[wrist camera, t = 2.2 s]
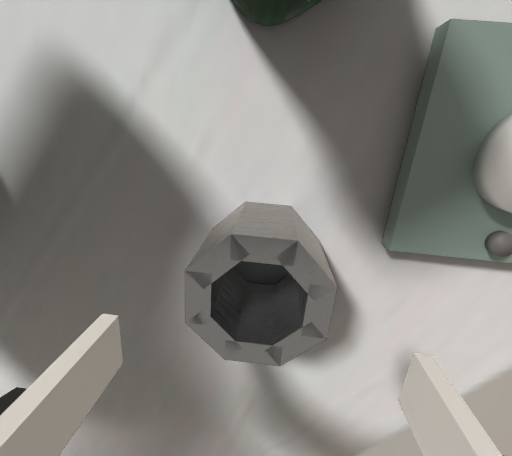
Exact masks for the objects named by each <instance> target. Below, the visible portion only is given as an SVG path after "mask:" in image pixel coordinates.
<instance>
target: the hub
mask: <svg viewBox="0 0 512 456" xmlns="http://www.w3.org/2000/svg"><path fill="white" fill-rule="evenodd" d="M240 261H246V262H256V263H265V264H275V265H283V266H284V267H285V269H286V270H287V271H288V272H289V273H290V274H288V275H287V276H286V277H284V278H283V279H281V280H280V281H278V282H277V283H275V284H274V285H272V284H262V283H253V282H247V281H246V280H245V279H244V278H243V277H242V276H241V275H240V274H239V273H238V271H237V270H236V269H235V268H234V266H235V265H236V264H238V263H239V262H240ZM336 292H337V285H336V282H335V280H334V277H333V275H332V272H331V270H330V267H329V264H328V262H327V259H326V257H325V254H324V252H323V249H322V247H321V244H320V241H319V239H318V238H317V237H316V236H315V234H314V233H313V232H312V231H311V230H310V228H309V227H308V226H307V225H306V224H305V222H304V221H303V220H302V219H301V217H300V216H299V215H298V214H297V213H296V211H295V210H294V209H293V208H292V207H291V206H284V205H273V204H263V203H253V202H245V203H243V204H242V205H241V206H240V207H239V208H237V209H236V210H235V211H234V212H233V213H231V214H230V215H229V216H228V217H227V218H225V219H224V220H223V221H222V222H220V223H219V224H218V225H217V226H216V227H214V228H213V229H212V231H211V232H210V234H209V235H208V237H207V238H206V240H205V241H204V243H203V244H202V246H201V247H200V249H199V250H198V252H197V253H196V255H195V256H194V258H193V259H192V261H191V262H190V264H189V265H188V267H187V268H186V270H185V323H186V324H187V325H188V326H190V327H191V328H192V329H193V330H194V331H195V332H196V333H197V334H198V335H199V336H200V337H201V338H202V339H203V340H204V341H205V342H206V343H207V344H209V345H210V346H211V347H212V348H213V349H214V350H215V351H216V352H217V353H218V354H219V355H220V356H221V357H222V358H223V359H224V360H233V361H241V362H249V363H258V364H266V365H274V366H281V365H283V364H285V363H286V362H288V361H290V360H292V359H293V358H295V357H297V356H298V355H300V354H302V353H303V352H305V351H307V350H309V349H310V348H312V347H314V346H315V345H317V344H319V343H320V342H322V341H324V340H326V339H327V335H328V330H329V325H330V321H331V316H332V311H333V306H334V301H335V296H336Z"/></svg>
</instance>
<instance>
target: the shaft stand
mask: <svg viewBox="0 0 512 456" xmlns="http://www.w3.org/2000/svg"><path fill="white" fill-rule="evenodd" d="M382 244H383V245H384V246H385V247H386V248H387V249H388V250H389V251H397V252H407V253H417V254H427V255H437V256H446V257H456V258H466V259H476V260H486V261H496V262H505V263H512V23H506V22H491V21H476V20H462V19H450V20H448V21H447V22H445V23H444V24H442V25H441V26H439V27H438V28H436V30H435V34H434V38H433V42H432V46H431V50H430V54H429V58H428V62H427V66H426V70H425V74H424V78H423V82H422V86H421V90H420V94H419V97H418V101H417V105H416V109H415V113H414V117H413V121H412V125H411V129H410V133H409V137H408V141H407V145H406V149H405V153H404V157H403V161H402V165H401V168H400V172H399V176H398V180H397V184H396V188H395V192H394V196H393V200H392V204H391V208H390V212H389V216H388V220H387V224H386V228H385V232H384V236H383V240H382Z"/></svg>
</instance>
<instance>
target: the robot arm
mask: <svg viewBox="0 0 512 456" xmlns="http://www.w3.org/2000/svg"><path fill="white" fill-rule="evenodd" d="M122 364H123V355H122V345H121V335H120V324H119V316H118V315H110V314H101V315H100V316H99V317H98V318H97V319H96V320H95V321H94V322H93V323H92V324H91V325H90V326H89V327H88V328H87V329H86V330H85V331H84V332H83V333H82V334H81V335H80V336H79V337H78V338H77V339H76V340H75V341H74V342H73V343H72V344H71V345H70V346H69V347H68V348H67V349H66V350H65V351H64V352H63V353H62V354H61V355H60V356H59V357H58V358H57V359H56V360H55V361H54V362H53V363H52V364H51V365H50V366H49V367H48V368H47V369H46V370H45V371H44V372H43V373H42V374H41V375H40V376H39V377H38V378H37V379H36V380H35V381H34V382H33V383H32V384H31V385H30V386H29V387H28V388H27V389H25V388H18V387H16V388H15V389H13V390H12V391H10V392H8V393H7V394H5V395H4V396H2V397H1V398H0V456H59V455H60V454H61V452H62V451H63V449H64V448H65V446H66V445H67V444H68V442H69V441H70V439H71V438H72V436H73V435H74V433H75V432H76V431H77V429H78V428H79V426H80V425H81V423H82V422H83V420H84V419H85V418H86V416H87V415H88V413H89V412H90V410H91V409H92V407H93V406H94V405H95V403H96V402H97V400H98V399H99V397H100V396H101V394H102V393H103V391H104V390H105V389H106V387H107V386H108V384H109V383H110V381H111V380H112V378H113V377H114V376H115V374H116V373H117V371H118V370H119V368H120V367H121V365H122ZM398 401H399V404H400V406H401V408H402V410H403V413H404V415H405V417H406V419H407V422H408V424H409V426H410V428H411V431H412V433H413V435H414V437H415V440H416V442H417V444H418V446H419V449H420V451H421V453H422V455H423V456H502V455H501V453H500V452H499V451H498V449H497V448H496V446H495V445H494V443H493V442H492V440H491V439H490V438H489V436H488V435H487V433H486V432H485V430H484V429H483V428H482V426H481V425H480V423H479V422H478V420H477V419H476V417H475V416H474V414H473V413H472V412H471V410H470V409H469V407H468V406H467V404H466V403H465V402H464V400H463V399H462V397H461V396H460V394H459V393H458V391H457V390H456V388H455V387H454V386H453V384H452V383H451V381H450V380H449V378H448V377H447V376H446V374H445V373H444V371H443V370H442V368H441V367H440V365H439V364H438V363H437V361H436V360H435V358H434V357H433V355H430V354H422V353H414V354H413V357H412V360H411V363H410V365H409V368H408V371H407V374H406V377H405V380H404V383H403V386H402V389H401V392H400V395H399V398H398Z"/></svg>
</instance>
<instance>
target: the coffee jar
mask: <svg viewBox="0 0 512 456" xmlns="http://www.w3.org/2000/svg"><path fill="white" fill-rule="evenodd" d="M232 1H233V2H234V4H235V5H236V6H237V8H238V9H239V10H240V11H241V12H242V13H243V14H244V15H245V16H246V17H247V18H249V19H250V20H252V21H254V22H256V23H258V24H262V25H277V24H281V23H284V22H286V21H288V20H290V19H292V18H294V17H296V16H297V15H299V14H301V13H303V12H304V11H306V10H308V9H309V8H311V7H312V6H314V5H315V4H317V3H318V2H320V1H321V0H232Z"/></svg>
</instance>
